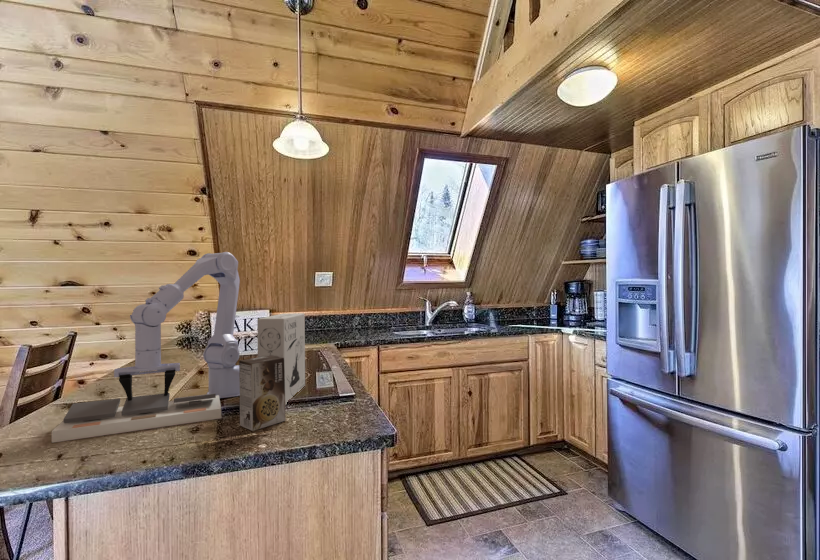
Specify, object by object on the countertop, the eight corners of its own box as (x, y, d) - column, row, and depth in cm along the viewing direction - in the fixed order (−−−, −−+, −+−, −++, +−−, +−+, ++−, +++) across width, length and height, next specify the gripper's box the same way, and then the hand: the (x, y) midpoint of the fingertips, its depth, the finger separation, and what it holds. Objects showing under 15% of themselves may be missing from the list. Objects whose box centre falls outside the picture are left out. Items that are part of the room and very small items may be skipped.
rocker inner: (214, 397, 115) (214, 393, 115) (215, 397, 108) (215, 393, 108) (175, 401, 110) (175, 397, 111) (173, 402, 104) (173, 398, 104)
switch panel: (219, 403, 119) (218, 392, 119) (221, 418, 105) (221, 405, 105) (70, 422, 103) (70, 409, 103) (51, 442, 90) (51, 427, 90)
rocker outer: (120, 401, 105) (120, 398, 105) (114, 416, 98) (114, 412, 98) (73, 407, 101) (72, 403, 100) (63, 423, 94) (63, 419, 93)
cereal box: (284, 407, 115) (283, 318, 115) (257, 407, 115) (257, 318, 115) (305, 387, 136) (304, 313, 137) (283, 388, 136) (282, 313, 137)
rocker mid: (169, 396, 110) (169, 392, 110) (167, 409, 103) (167, 406, 103) (126, 401, 106) (126, 397, 105) (121, 415, 99) (121, 412, 98)
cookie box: (272, 416, 106) (271, 354, 107) (286, 421, 102) (285, 357, 103) (238, 425, 99) (238, 359, 100) (252, 431, 95) (252, 362, 96)
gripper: (179, 345, 114) (179, 393, 114) (116, 350, 107) (116, 401, 107) (179, 348, 108) (180, 399, 108) (112, 353, 101) (112, 408, 101)
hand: (148, 401), depth 107 cm, fingers open, 7 cm apart
